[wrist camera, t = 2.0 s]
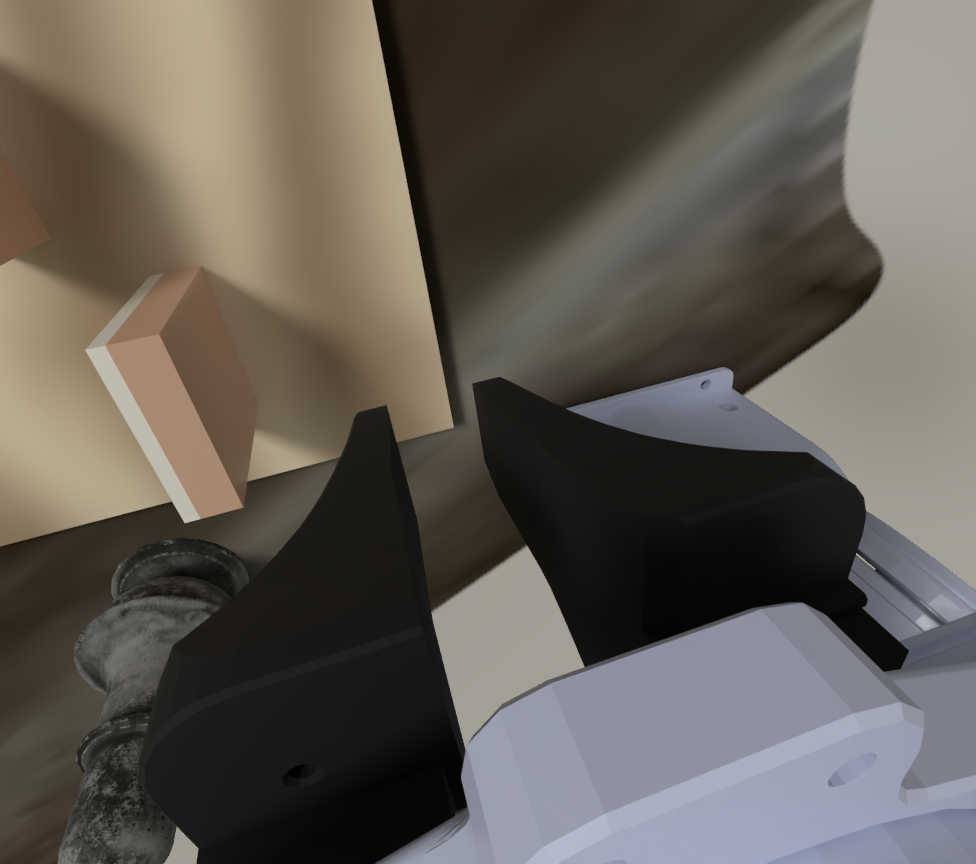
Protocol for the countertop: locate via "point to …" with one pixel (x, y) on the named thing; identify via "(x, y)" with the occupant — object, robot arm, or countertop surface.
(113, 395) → the cream tile
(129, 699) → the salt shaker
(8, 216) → the tan piece
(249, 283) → the maple board
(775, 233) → the countertop surface
